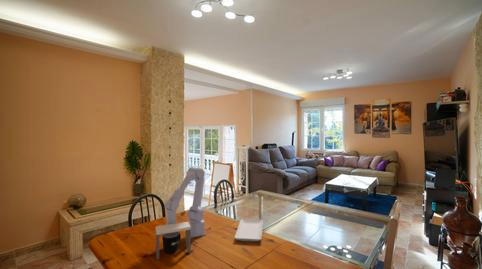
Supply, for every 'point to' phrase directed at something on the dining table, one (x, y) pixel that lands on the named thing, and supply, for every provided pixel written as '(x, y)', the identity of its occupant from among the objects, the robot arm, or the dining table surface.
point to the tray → (249, 230)
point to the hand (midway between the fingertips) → (171, 242)
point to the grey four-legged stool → (174, 228)
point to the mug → (171, 242)
